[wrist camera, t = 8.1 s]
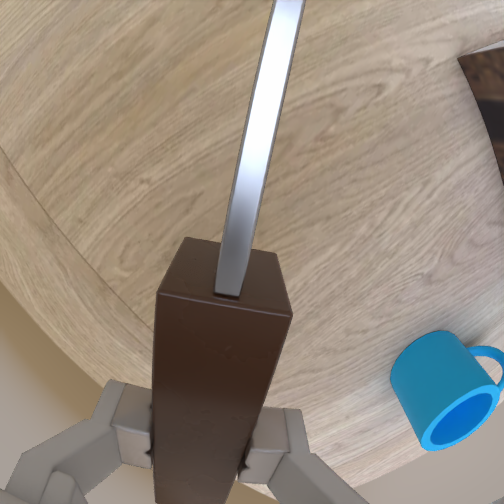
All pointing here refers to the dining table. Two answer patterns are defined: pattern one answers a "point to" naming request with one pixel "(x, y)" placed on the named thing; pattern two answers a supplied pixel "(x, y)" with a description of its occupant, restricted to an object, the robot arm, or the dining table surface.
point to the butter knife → (223, 311)
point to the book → (489, 91)
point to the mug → (445, 388)
